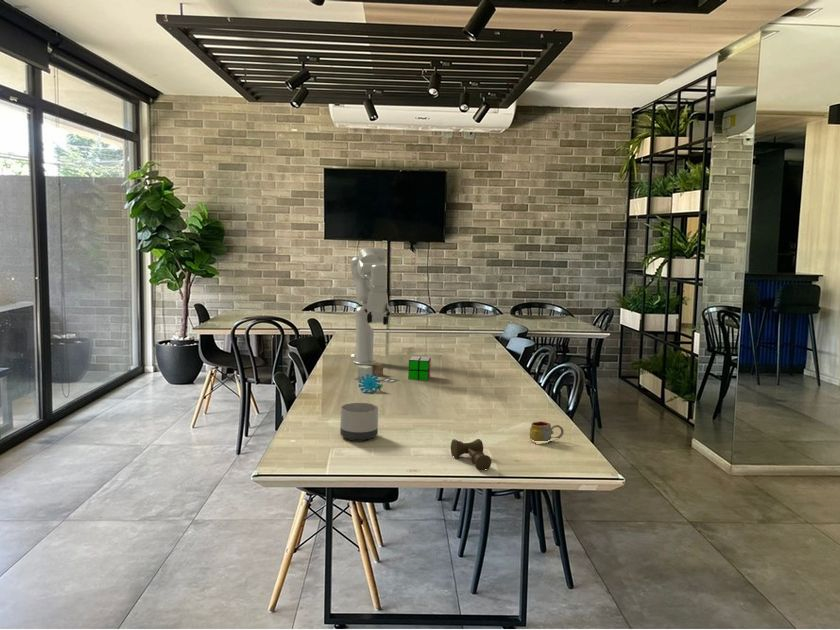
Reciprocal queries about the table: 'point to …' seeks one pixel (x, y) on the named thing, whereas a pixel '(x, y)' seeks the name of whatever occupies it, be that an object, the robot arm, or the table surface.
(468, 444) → the kendama
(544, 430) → the mug
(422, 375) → the puzzle cube
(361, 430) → the planter
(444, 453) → the table surface
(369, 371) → the pale grey-green block
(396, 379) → the coaster
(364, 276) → the robot arm
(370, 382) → the blue spiky virus model
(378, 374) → the walnut block
